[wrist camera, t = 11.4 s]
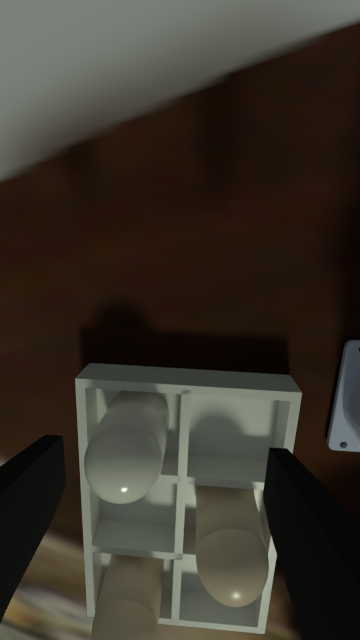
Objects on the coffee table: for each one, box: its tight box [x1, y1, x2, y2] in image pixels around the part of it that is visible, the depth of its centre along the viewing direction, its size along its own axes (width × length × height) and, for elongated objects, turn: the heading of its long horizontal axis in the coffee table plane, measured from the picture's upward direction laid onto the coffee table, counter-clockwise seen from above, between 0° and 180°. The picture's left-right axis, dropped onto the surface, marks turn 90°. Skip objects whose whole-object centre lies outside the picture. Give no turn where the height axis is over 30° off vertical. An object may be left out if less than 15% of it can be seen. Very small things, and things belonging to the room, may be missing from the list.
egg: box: [84, 390, 170, 504], centre depth 18 cm, size 4×4×7 cm
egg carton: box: [75, 363, 302, 640], centre depth 20 cm, size 14×20×7 cm
